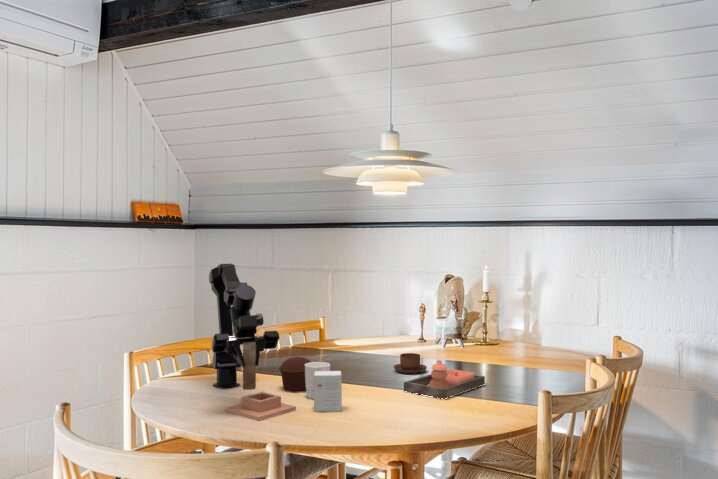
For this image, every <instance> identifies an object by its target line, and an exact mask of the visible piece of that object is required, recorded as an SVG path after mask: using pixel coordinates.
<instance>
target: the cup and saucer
mask: <svg viewBox="0 0 718 479" xmlns="http://www.w3.org/2000/svg"><path fill="white" fill-rule="evenodd" d="M393 369H394V370H395V371H397V372H398V373H403V374H418V373H422V372H425V371H426V370H427V366H426V365H424V364H421V355H420V354H419V353H412V352H411V353H410V352H408V353H406V352H405V353H400V355H399V363H397V364H394V366H393Z"/></svg>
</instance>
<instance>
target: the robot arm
mask: <svg viewBox="0 0 718 479" xmlns="http://www.w3.org/2000/svg"><path fill="white" fill-rule="evenodd" d="M235 266H236V265H235V264H234V263H220V264H218V265H217V266H216V267H214V268H212V269H211V270H210V271H209V274H208V281H209V284H210V286H211V287H210V288H211V291H212V292H213V294H215V296H216V302H217V318H218V332H219V333H214V335H213V337H212V342H211V349H212V352H213V357H212V359H211V360H212V368H213V369H214V370H216V383H212V386H214V387H217V388H221V389H228V388H229V389H230V388H234V387H237V386H238V387H239V386H241V383H239V382H238V380H237V379H238V378H237V374H238V373H237V368H241V367H242V368H243V367H244V359H243V351H242V350H241V346H243V342H246V341H254V342H256V367H258V366H259V362H260V355H261V352H264V351H265V350H271V349H272V350H274V349H275V348H277V346H278V343H279V340H280V333H279V332H278V331H277V330H275V329H274V330H264V332H263V335H262V336H261V335H256V334H257V332H258V329H257V328H258V327H262V326H263V324H264V322H265V321H264V316H263V313H256V314H254V315H253V314H252V315H251V310H252V308H253V306H254V301H255V298H256V292H257V291H256V289H255V288H254V287H253V286H251V285H249V284H248V282H241V281H240V279H239V277H238V274H237V269H236V267H235Z"/></svg>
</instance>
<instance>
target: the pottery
mask: <svg viewBox="0 0 718 479" xmlns="http://www.w3.org/2000/svg"><path fill="white" fill-rule="evenodd" d="M447 368H448V367H447V364H443V362H442V360H436V363H433V364H432V365H431V369H432V371H431V372H430V374H431V376H432V378H433V379H432V380H431V381H430V383H429V385H428V386H432V387H437V388H442V389H444V388H447V387H450V386H453V385H456V384H459V383H462V382H465V381H468V380H471V379H474V378H475V375H476V372H471V371H465V370H460V369H453V368H449V369H447ZM445 370H446V371H445Z"/></svg>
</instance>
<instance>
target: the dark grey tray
mask: <svg viewBox="0 0 718 479" xmlns="http://www.w3.org/2000/svg"><path fill="white" fill-rule="evenodd" d="M446 370H447V369H446ZM446 370H445V371H446ZM485 377H486V376H484V375H480V374H475V378H474V379H471V380H468V381H465V382H462V383H459V384H456V385H453V386H450V387H447V388H444V389H442V388H437V387H432V386H429V385H428V384H429V383H430V381H431V380H432V379H433V378H432V376H431V373H430V374H427V375H424V376H423V375H422V376H420V377H417V378H413V379H410V380H409V379H408V380H407V381H403V392H404V391H407V392H406V393H409V392H413V393H418V394H423V395H428V396H433V397H438V398H443V399H445V398H447V397H450V396H452V395H455V394H458V393H460V392H463V391H466V390H469V389H472V388H475V387H478V386H480V385H483V384H485V383H486V382H485V381H486V380H485V379H486V378H485ZM427 385H428V386H427ZM485 385H486V384H485ZM413 393H412V394H413ZM418 394H417V395H418ZM423 395H422V396H423ZM428 396H427V397H428ZM433 397H432V398H433ZM438 398H437V399H438ZM443 399H442V400H443ZM445 400H446V399H445Z"/></svg>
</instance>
